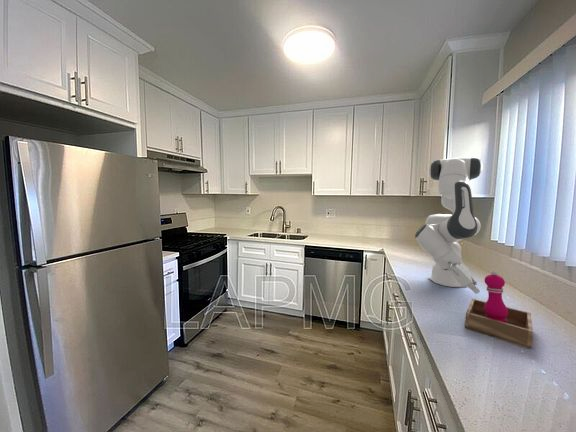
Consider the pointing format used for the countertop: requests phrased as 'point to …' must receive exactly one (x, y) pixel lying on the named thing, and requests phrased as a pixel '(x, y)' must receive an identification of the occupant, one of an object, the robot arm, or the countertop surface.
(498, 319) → the pepper mill
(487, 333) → the tray
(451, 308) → the countertop surface
